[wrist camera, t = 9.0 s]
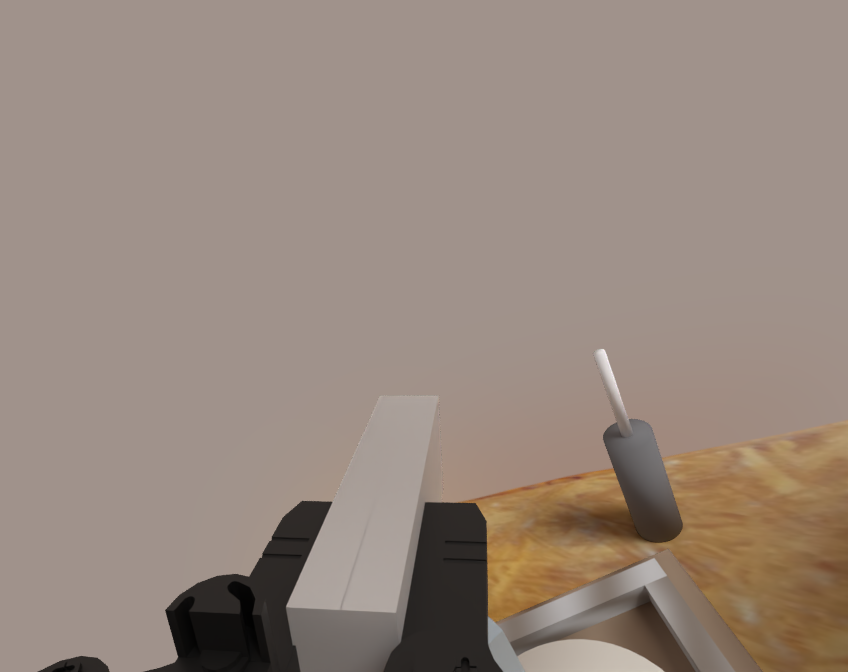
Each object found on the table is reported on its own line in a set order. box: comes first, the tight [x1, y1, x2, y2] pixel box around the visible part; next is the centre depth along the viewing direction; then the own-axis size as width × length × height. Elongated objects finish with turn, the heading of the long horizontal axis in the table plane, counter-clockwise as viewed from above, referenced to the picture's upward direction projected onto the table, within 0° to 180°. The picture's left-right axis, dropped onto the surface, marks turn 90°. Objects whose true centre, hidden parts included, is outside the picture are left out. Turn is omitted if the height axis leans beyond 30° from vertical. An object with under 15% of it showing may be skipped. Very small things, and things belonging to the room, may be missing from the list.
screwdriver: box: [593, 349, 683, 542], centre depth 37 cm, size 3×3×16 cm
